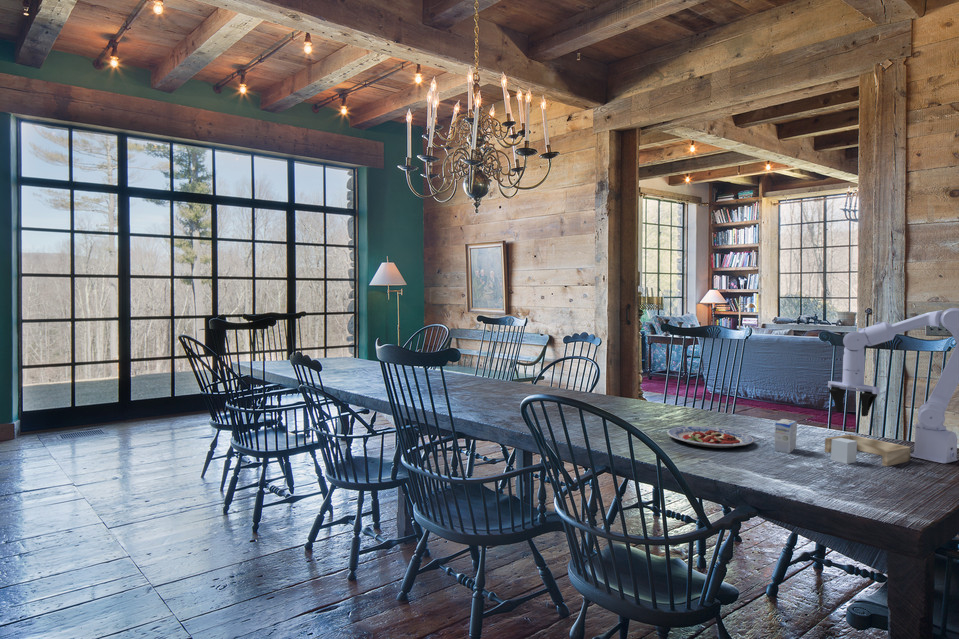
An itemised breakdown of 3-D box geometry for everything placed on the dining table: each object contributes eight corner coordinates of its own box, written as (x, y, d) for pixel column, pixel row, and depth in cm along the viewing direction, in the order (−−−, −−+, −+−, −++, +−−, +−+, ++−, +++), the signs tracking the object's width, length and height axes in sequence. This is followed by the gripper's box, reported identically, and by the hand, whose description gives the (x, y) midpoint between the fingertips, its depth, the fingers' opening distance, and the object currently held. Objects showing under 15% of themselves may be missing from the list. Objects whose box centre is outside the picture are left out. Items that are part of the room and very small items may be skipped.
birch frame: (910, 460, 173) (910, 447, 173) (886, 466, 167) (887, 451, 167) (848, 447, 189) (848, 434, 188) (824, 451, 183) (825, 438, 182)
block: (856, 462, 171) (857, 441, 171) (846, 464, 169) (847, 442, 169) (840, 458, 175) (841, 437, 175) (830, 460, 173) (831, 439, 173)
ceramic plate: (718, 431, 210) (718, 422, 210) (772, 449, 185) (772, 440, 185) (651, 434, 203) (652, 425, 203) (698, 454, 178) (698, 444, 178)
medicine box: (780, 446, 189) (781, 418, 188) (796, 448, 186) (797, 420, 186) (773, 451, 183) (774, 422, 182) (790, 453, 180) (791, 424, 179)
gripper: (822, 368, 192) (821, 410, 193) (870, 373, 180) (869, 419, 180) (835, 367, 196) (834, 409, 196) (884, 372, 183) (882, 417, 184)
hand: (851, 413), depth 188 cm, fingers open, 7 cm apart
